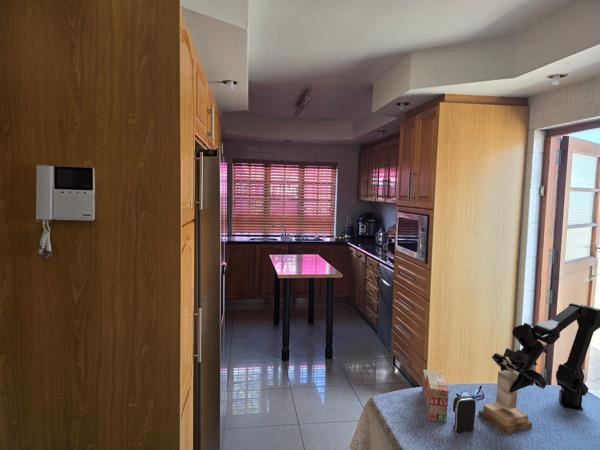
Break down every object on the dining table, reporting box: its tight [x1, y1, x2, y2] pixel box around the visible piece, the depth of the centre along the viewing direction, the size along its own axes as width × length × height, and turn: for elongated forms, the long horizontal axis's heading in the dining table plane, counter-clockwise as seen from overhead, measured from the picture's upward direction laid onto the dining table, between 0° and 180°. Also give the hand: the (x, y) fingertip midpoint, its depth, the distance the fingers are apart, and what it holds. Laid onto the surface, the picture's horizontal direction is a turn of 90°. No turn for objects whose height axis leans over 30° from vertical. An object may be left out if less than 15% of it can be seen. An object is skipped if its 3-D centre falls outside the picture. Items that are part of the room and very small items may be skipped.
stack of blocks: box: [422, 369, 450, 424], centre depth 149 cm, size 21×6×12 cm, turn 169°
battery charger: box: [452, 395, 477, 433], centre depth 135 cm, size 7×4×11 cm, turn 103°
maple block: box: [482, 402, 529, 427], centre depth 140 cm, size 10×10×2 cm
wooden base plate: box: [478, 409, 533, 435], centre depth 141 cm, size 12×12×2 cm
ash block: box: [495, 370, 518, 410], centre depth 140 cm, size 4×4×12 cm
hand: (504, 388), depth 139 cm, fingers closed on ash block, 4 cm apart
